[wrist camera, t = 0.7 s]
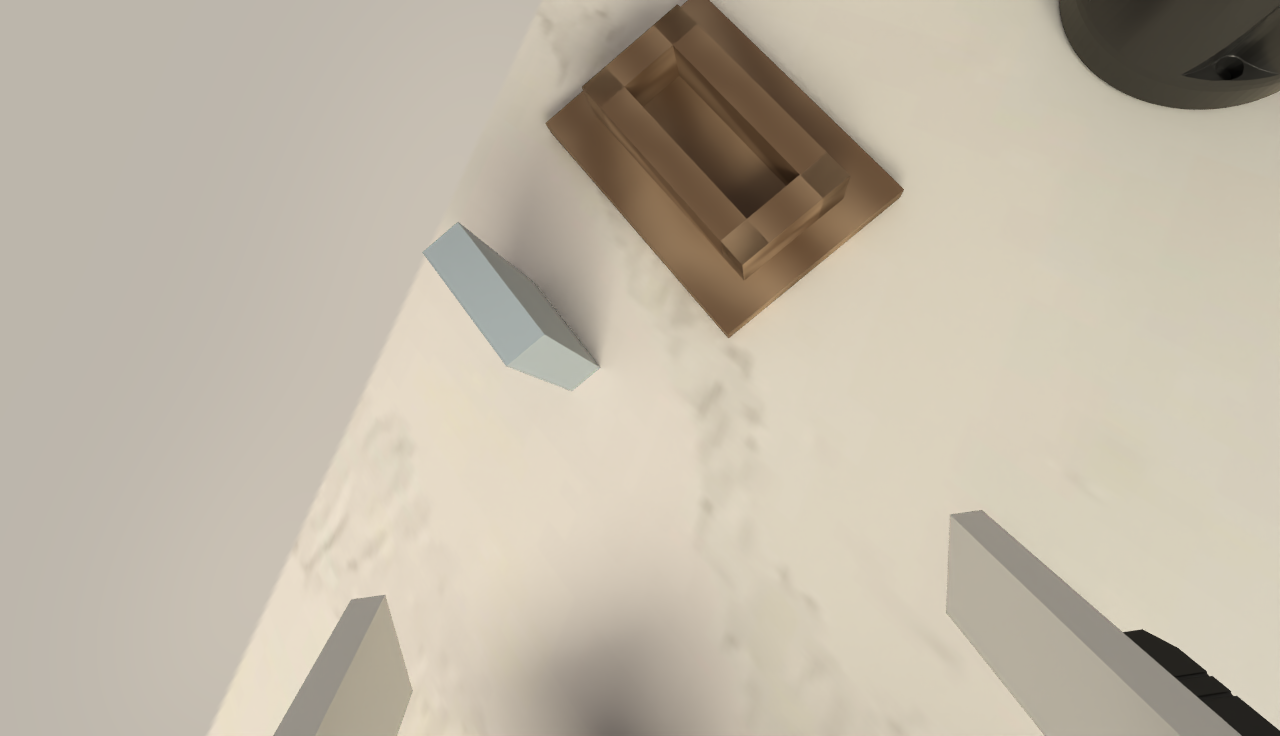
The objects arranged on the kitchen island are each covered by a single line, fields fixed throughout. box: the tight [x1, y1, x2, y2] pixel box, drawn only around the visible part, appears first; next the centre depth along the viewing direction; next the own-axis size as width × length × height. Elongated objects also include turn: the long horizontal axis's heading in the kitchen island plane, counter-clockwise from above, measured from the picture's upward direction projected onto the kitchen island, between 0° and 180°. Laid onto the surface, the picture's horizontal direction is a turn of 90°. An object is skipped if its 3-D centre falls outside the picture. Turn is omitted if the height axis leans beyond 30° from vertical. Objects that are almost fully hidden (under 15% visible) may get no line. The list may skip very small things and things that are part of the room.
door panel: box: [423, 222, 600, 391], centre depth 37 cm, size 2×8×11 cm, turn 38°
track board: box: [545, 0, 904, 338], centre depth 40 cm, size 14×20×4 cm
